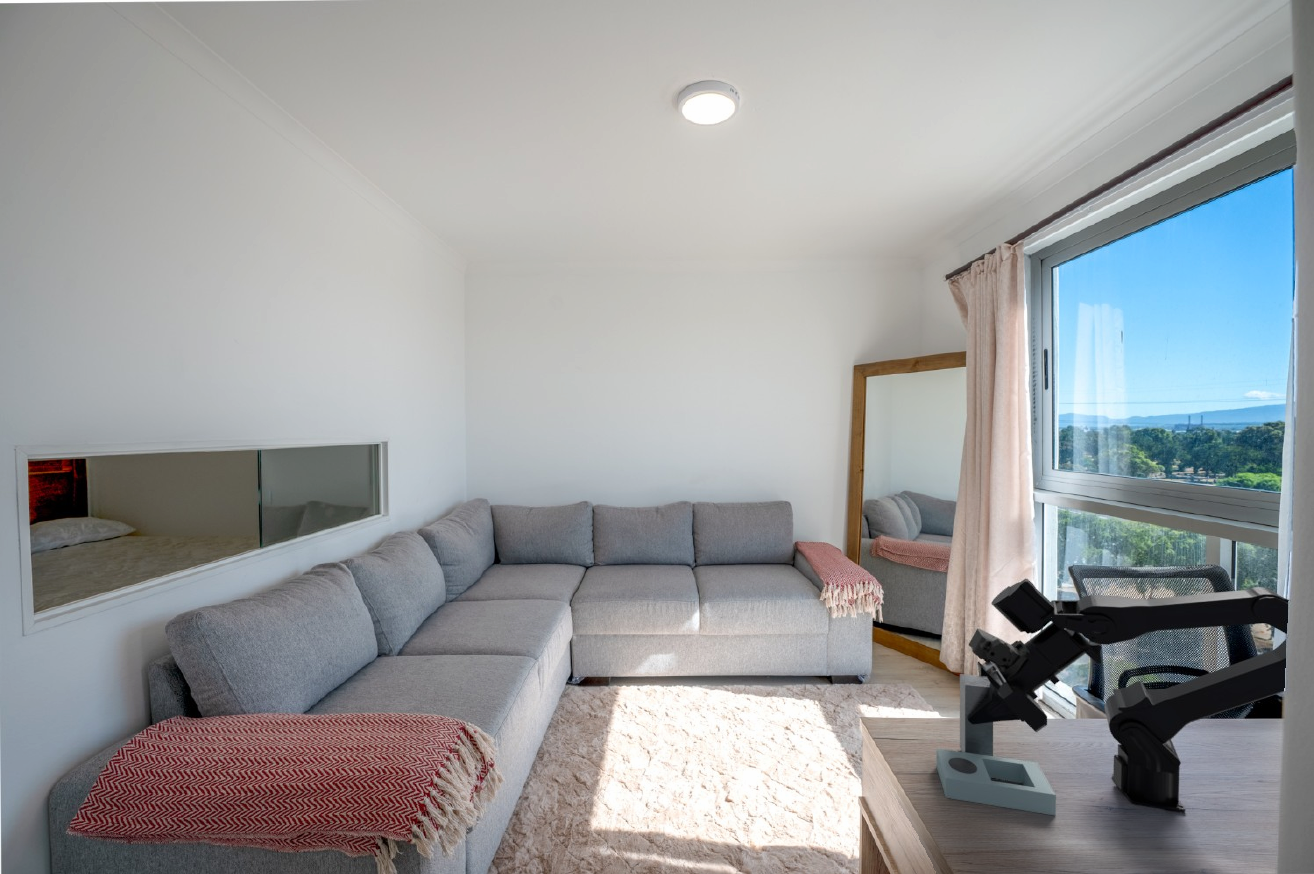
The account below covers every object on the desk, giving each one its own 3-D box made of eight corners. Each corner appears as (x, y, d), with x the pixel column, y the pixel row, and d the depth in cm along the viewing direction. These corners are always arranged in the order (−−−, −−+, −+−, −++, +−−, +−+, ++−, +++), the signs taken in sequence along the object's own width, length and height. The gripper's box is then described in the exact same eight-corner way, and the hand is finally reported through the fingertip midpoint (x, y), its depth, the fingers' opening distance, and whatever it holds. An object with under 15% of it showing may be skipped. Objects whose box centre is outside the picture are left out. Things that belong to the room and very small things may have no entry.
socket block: (1036, 781, 87) (1037, 761, 87) (1055, 815, 80) (1055, 794, 80) (936, 766, 92) (936, 747, 91) (945, 797, 84) (945, 777, 84)
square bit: (986, 750, 95) (986, 676, 94) (992, 764, 91) (993, 687, 91) (959, 746, 96) (959, 673, 96) (965, 760, 92) (965, 684, 92)
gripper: (988, 598, 100) (920, 653, 104) (1022, 639, 82) (938, 704, 86) (1039, 646, 98) (968, 701, 102) (1086, 700, 81) (997, 763, 84)
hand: (966, 714), depth 94 cm, fingers closed on square bit, 4 cm apart
